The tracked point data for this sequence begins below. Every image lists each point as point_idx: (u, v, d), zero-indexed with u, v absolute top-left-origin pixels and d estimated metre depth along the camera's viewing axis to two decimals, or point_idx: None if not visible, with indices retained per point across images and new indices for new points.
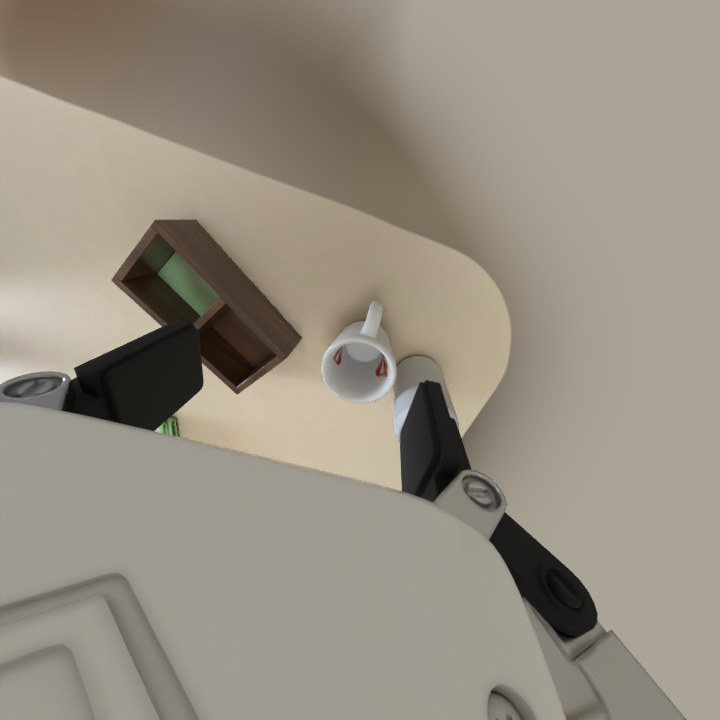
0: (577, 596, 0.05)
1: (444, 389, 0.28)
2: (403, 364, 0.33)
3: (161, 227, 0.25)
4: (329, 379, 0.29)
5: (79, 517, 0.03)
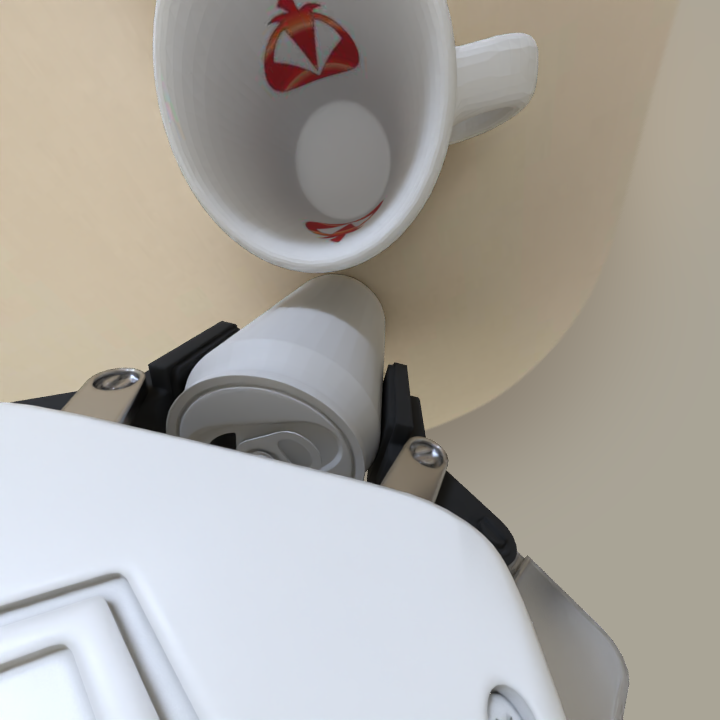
0: (501, 539, 0.06)
1: None
2: (351, 281, 0.15)
3: None
4: None
5: (79, 517, 0.03)
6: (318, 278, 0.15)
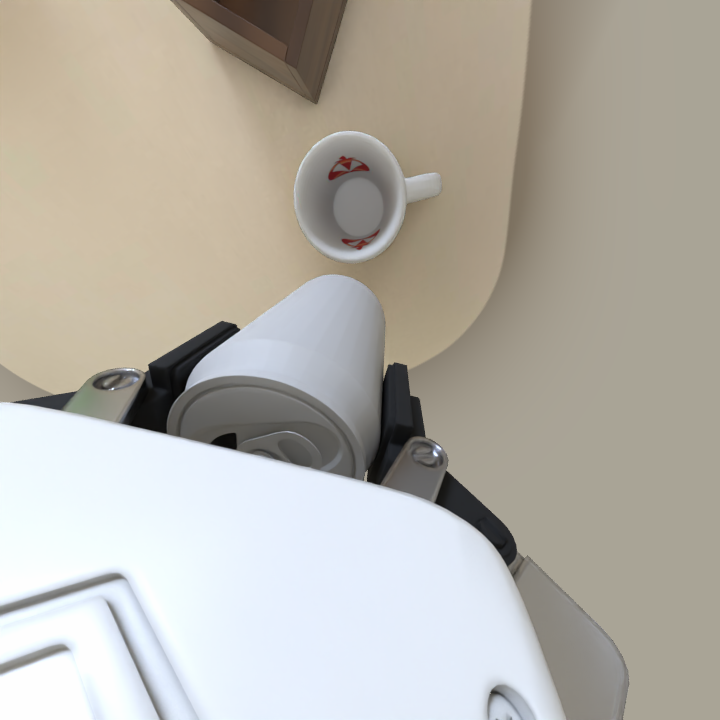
0: (501, 539, 0.06)
1: None
2: (351, 281, 0.15)
3: None
4: (312, 164, 0.18)
5: (79, 517, 0.03)
6: (318, 278, 0.15)
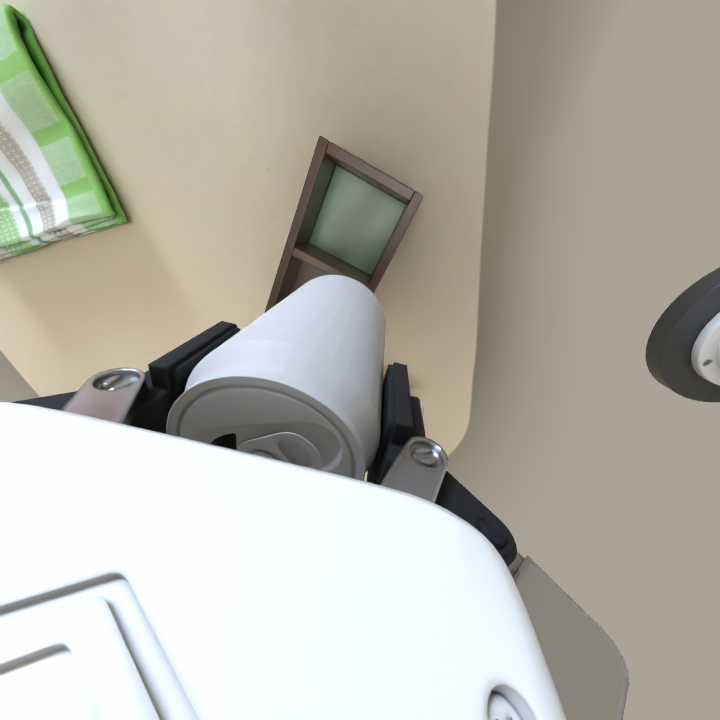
0: (500, 539, 0.06)
1: None
2: (350, 281, 0.15)
3: (417, 205, 0.22)
4: None
5: (79, 517, 0.03)
6: (318, 279, 0.15)
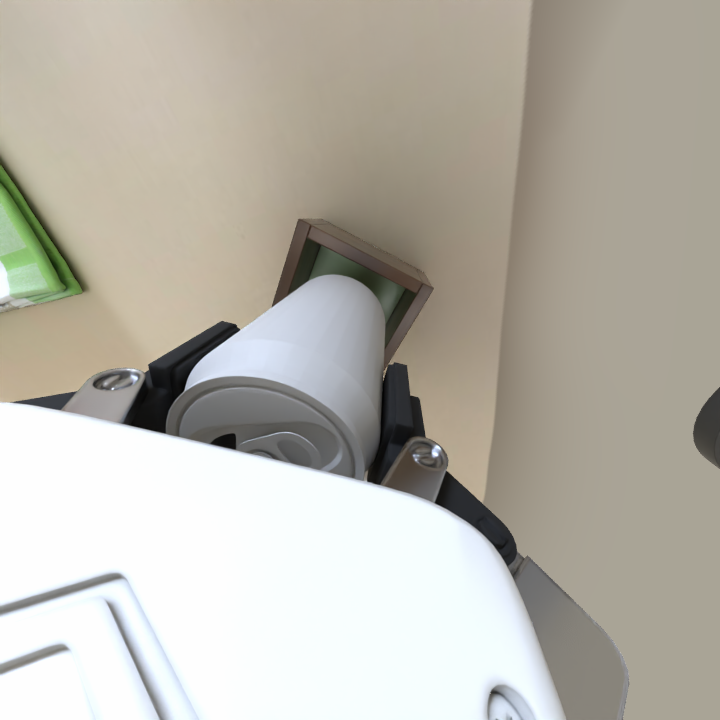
0: (500, 539, 0.06)
1: None
2: (351, 281, 0.15)
3: (426, 298, 0.17)
4: None
5: (79, 517, 0.03)
6: (318, 278, 0.15)
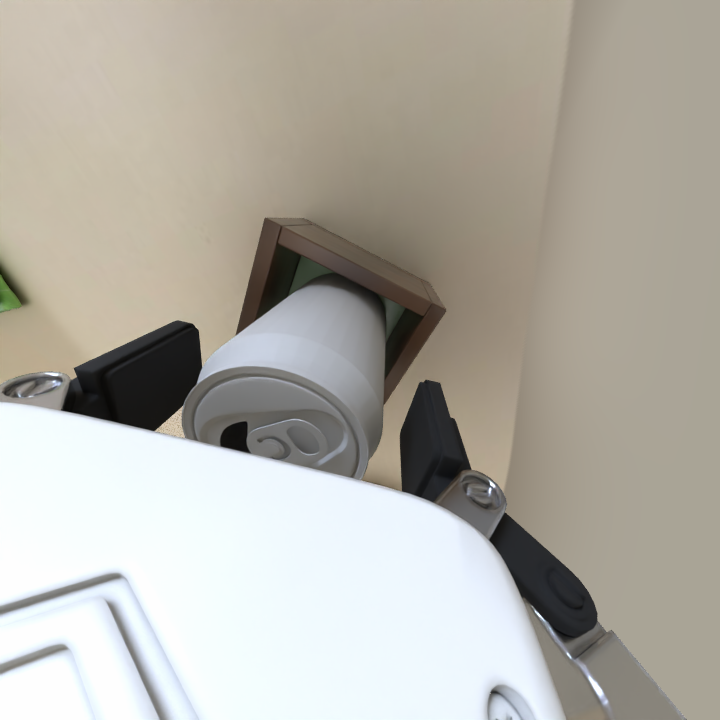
0: (577, 596, 0.05)
1: None
2: None
3: (436, 322, 0.13)
4: None
5: (79, 517, 0.03)
6: (321, 277, 0.15)
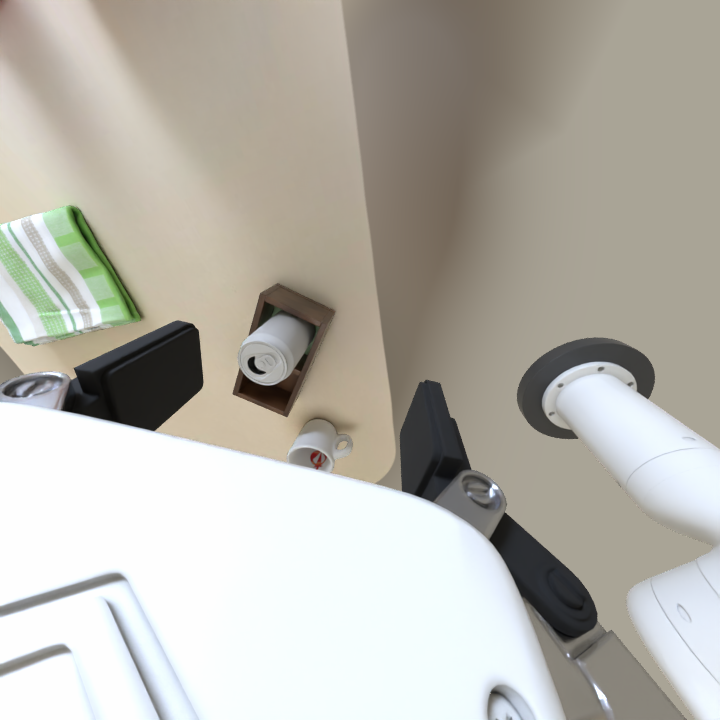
0: (577, 596, 0.05)
1: (302, 352, 0.34)
2: None
3: (324, 329, 0.34)
4: (294, 450, 0.43)
5: (79, 517, 0.03)
6: None
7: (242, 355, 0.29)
